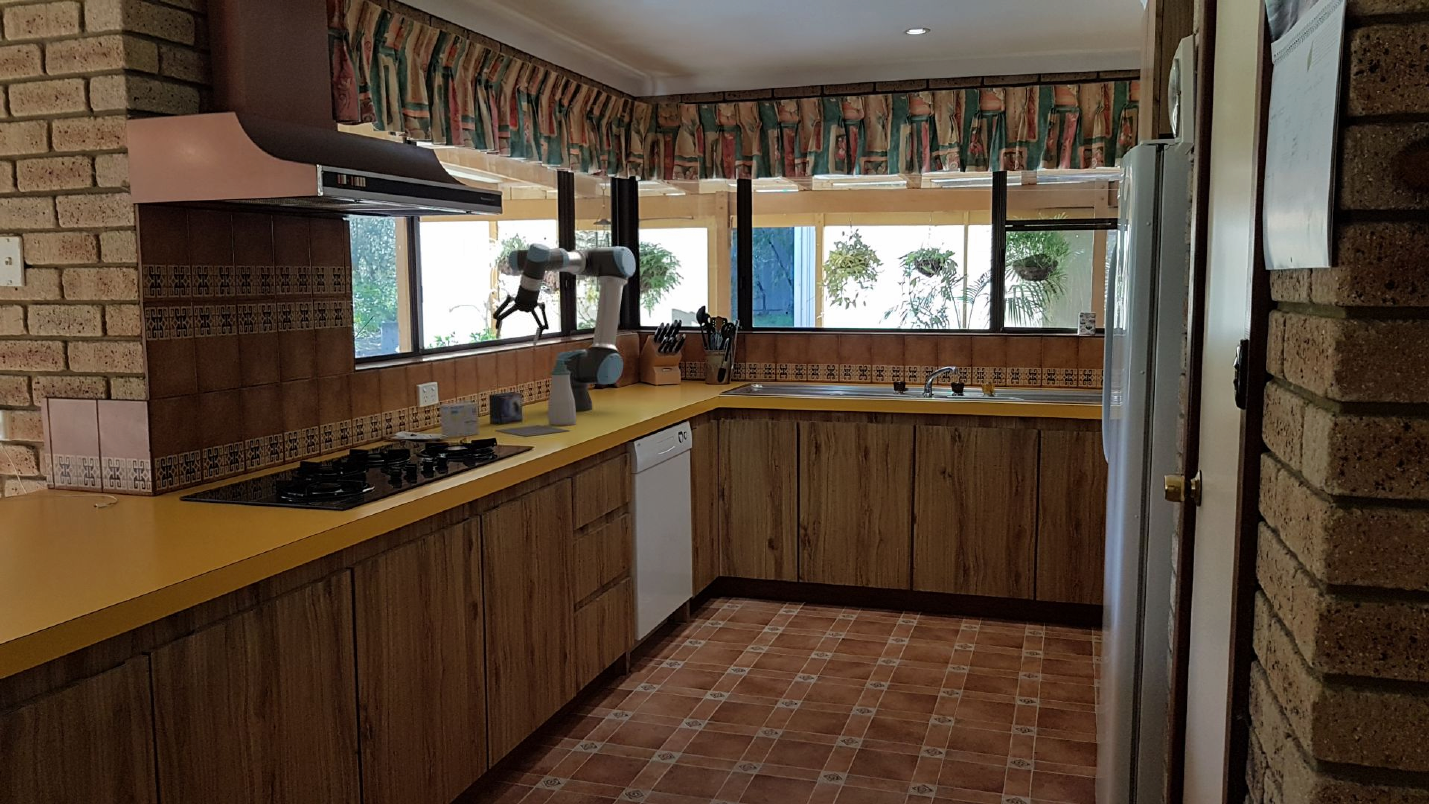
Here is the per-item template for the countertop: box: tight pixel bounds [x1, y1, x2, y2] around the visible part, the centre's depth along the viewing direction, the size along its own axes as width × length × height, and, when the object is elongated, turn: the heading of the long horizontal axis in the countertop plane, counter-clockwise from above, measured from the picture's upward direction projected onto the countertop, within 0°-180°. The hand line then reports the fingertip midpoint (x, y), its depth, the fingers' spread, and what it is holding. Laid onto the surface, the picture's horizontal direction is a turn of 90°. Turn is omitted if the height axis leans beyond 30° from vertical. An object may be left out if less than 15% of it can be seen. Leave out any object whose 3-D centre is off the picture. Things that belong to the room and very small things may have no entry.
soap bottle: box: [547, 359, 577, 427], centre depth 378 cm, size 10×10×23 cm
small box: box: [488, 391, 523, 425], centre depth 386 cm, size 11×6×10 cm, turn 143°
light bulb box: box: [439, 401, 480, 439], centre depth 356 cm, size 11×7×11 cm, turn 134°
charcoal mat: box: [494, 424, 570, 438], centre depth 363 cm, size 17×20×1 cm
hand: (515, 341), depth 386 cm, fingers open, 13 cm apart
